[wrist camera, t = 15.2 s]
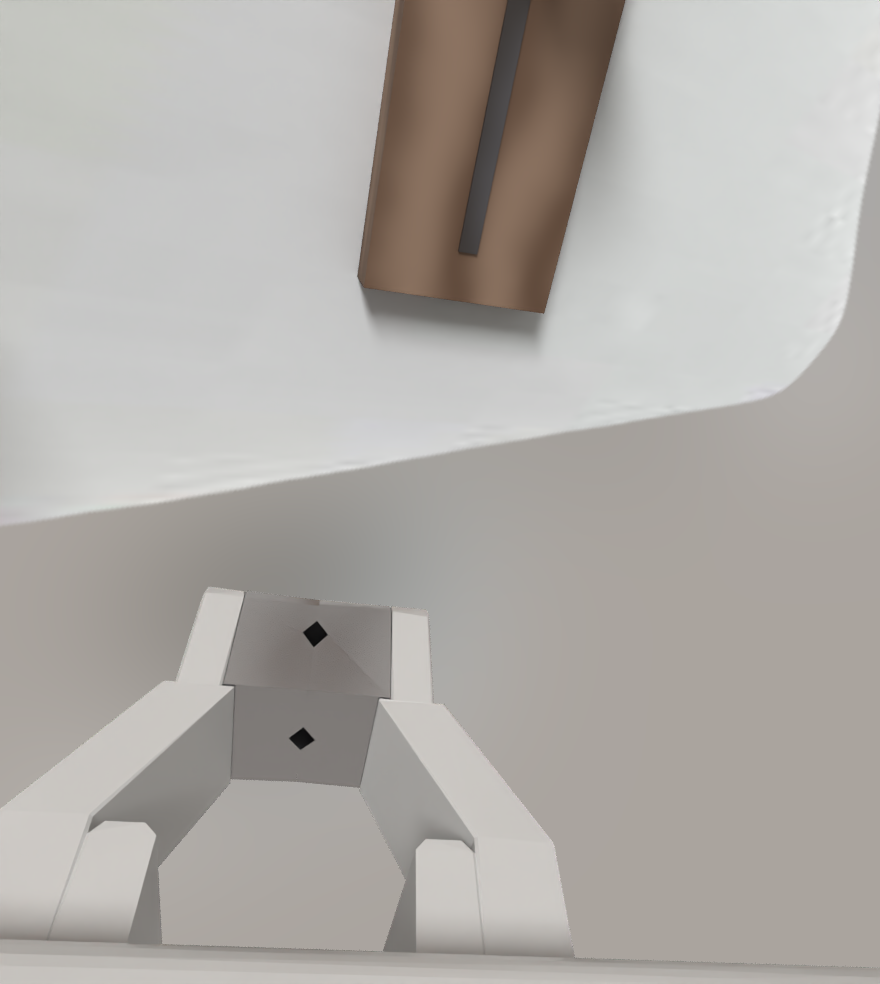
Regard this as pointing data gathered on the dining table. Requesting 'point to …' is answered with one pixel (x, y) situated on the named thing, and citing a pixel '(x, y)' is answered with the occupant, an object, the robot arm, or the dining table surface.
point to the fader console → (482, 145)
